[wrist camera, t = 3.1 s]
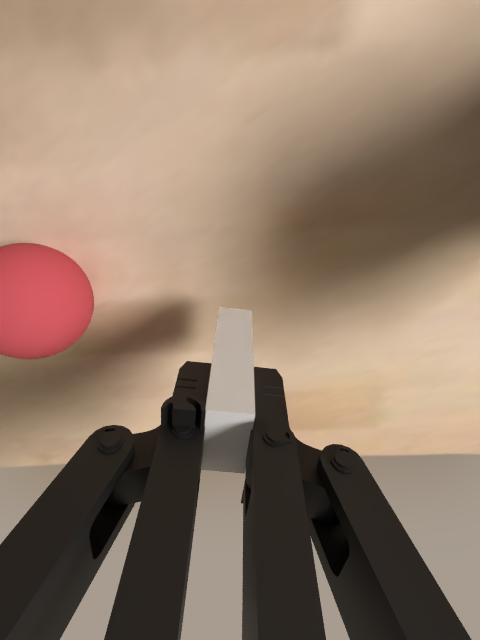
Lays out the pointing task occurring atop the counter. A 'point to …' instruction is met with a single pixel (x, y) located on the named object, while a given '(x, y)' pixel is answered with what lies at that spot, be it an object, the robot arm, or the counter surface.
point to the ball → (41, 301)
